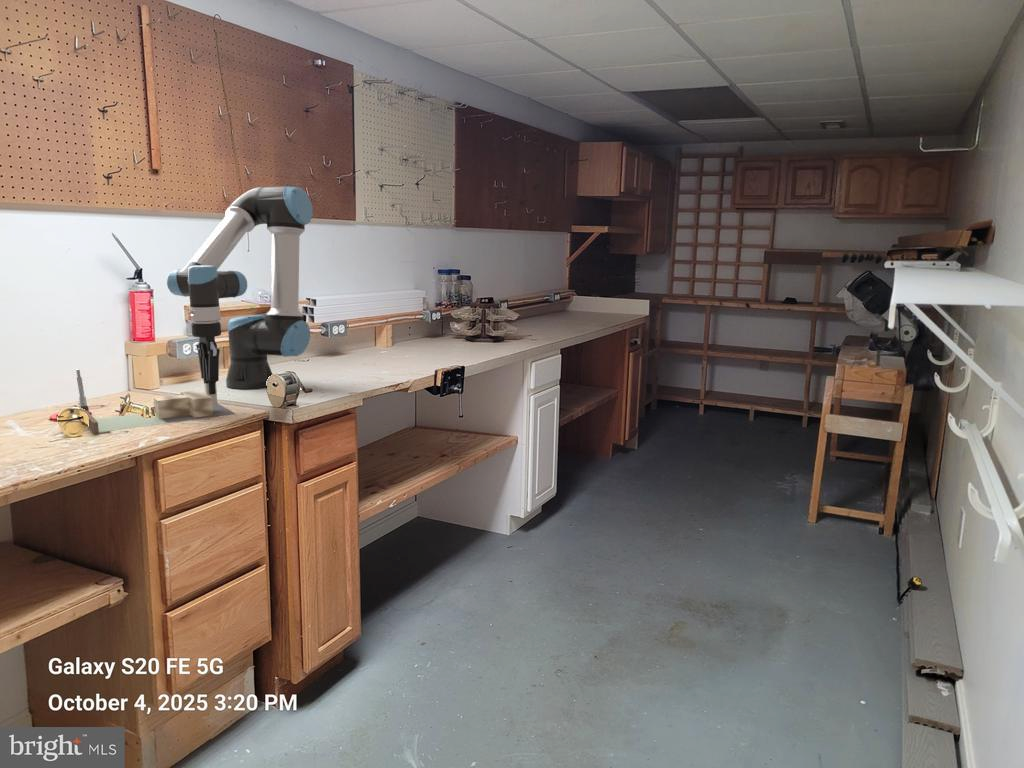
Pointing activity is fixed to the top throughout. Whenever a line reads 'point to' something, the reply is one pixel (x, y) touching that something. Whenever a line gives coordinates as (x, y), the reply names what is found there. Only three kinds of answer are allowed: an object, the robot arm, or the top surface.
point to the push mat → (143, 420)
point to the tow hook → (82, 397)
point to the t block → (184, 405)
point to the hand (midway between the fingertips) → (211, 404)
